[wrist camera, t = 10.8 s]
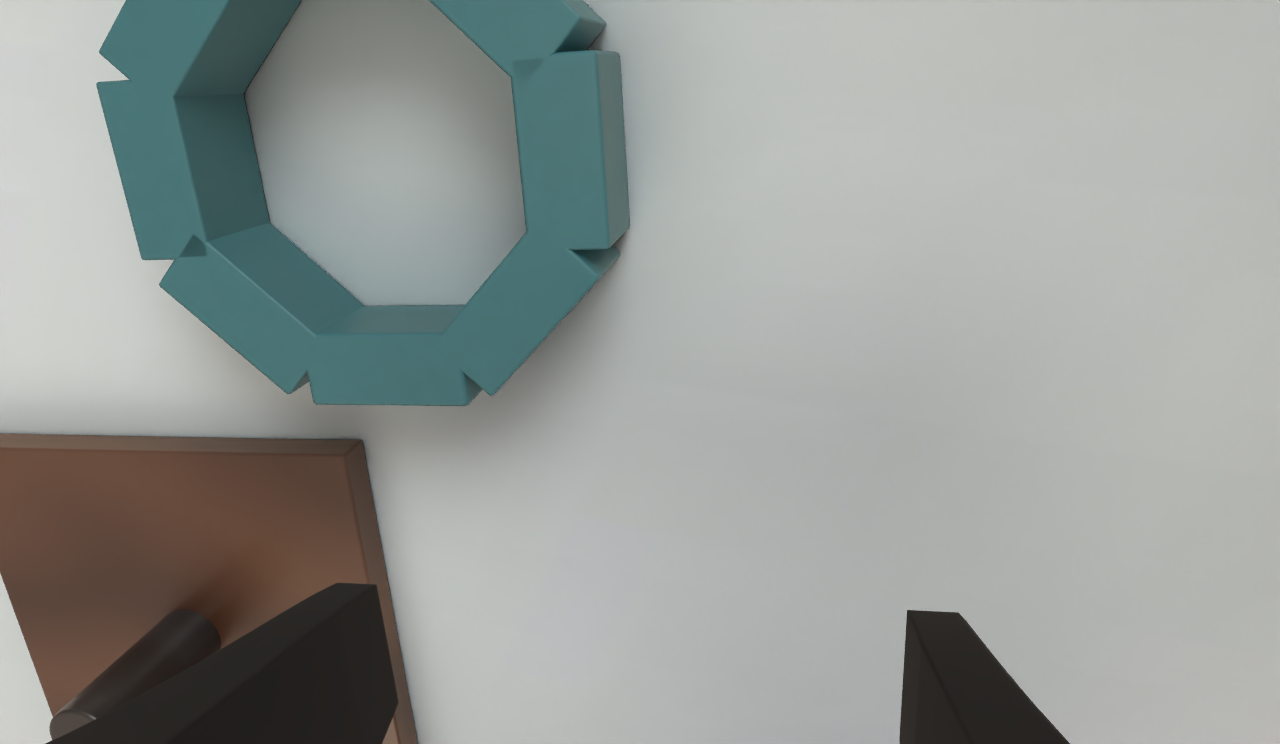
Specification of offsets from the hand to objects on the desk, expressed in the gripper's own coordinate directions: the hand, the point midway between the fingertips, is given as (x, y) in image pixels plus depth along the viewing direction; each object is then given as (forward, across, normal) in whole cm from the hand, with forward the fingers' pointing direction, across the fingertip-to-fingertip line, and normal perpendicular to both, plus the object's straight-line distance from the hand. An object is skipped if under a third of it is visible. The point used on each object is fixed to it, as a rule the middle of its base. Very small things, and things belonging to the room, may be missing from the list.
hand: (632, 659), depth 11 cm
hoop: (+9, +7, -6) cm, 13 cm away
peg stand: (+9, +15, +7) cm, 19 cm away
